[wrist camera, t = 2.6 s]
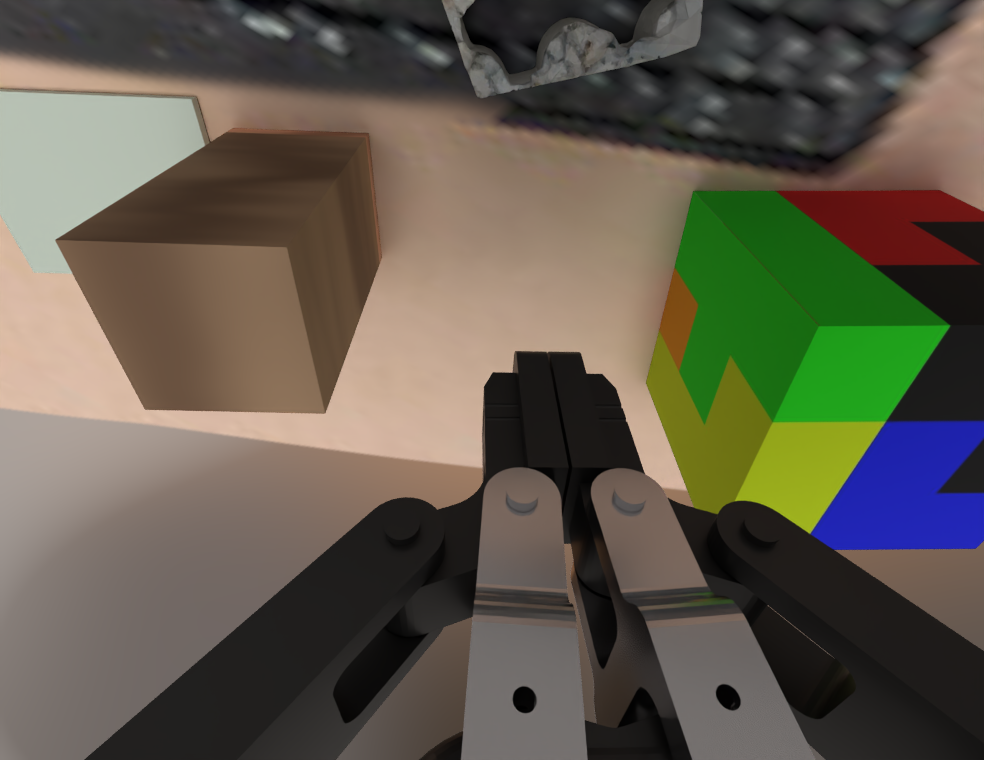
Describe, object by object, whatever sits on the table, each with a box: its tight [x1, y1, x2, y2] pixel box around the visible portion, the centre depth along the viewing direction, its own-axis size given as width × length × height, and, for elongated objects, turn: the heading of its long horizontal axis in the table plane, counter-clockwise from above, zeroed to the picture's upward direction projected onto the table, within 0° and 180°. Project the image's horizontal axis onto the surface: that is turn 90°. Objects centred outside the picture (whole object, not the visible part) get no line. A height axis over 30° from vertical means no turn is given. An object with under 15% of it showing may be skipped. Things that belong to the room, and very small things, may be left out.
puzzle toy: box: [646, 190, 984, 550], centre depth 20 cm, size 10×10×10 cm
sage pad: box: [0, 89, 210, 274], centre depth 20 cm, size 9×7×1 cm
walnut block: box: [55, 128, 382, 414], centre depth 17 cm, size 5×5×10 cm
